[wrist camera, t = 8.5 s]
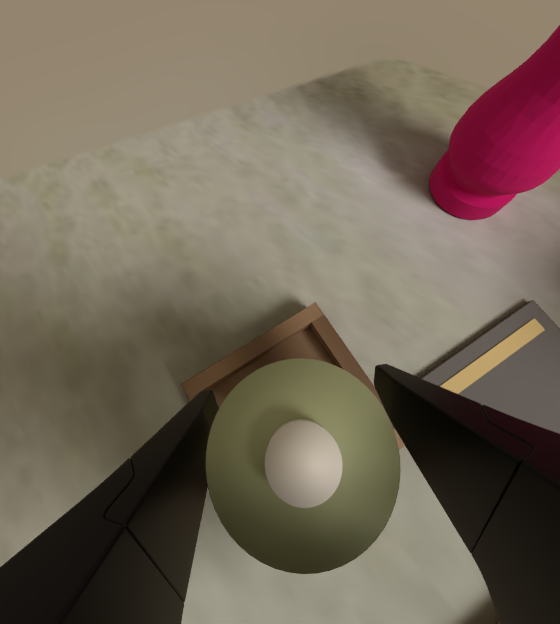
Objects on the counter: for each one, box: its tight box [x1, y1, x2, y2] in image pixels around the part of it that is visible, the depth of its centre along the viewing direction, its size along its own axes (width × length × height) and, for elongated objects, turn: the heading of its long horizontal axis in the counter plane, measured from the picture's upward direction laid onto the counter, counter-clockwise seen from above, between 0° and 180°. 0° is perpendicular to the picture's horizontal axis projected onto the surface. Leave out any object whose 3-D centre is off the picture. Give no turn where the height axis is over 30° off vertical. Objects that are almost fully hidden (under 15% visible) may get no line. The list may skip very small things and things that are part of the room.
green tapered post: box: [206, 358, 400, 574], centre depth 12 cm, size 4×4×13 cm
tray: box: [181, 302, 405, 449], centre depth 17 cm, size 10×10×2 cm
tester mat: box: [421, 300, 560, 434], centre depth 18 cm, size 12×12×1 cm
